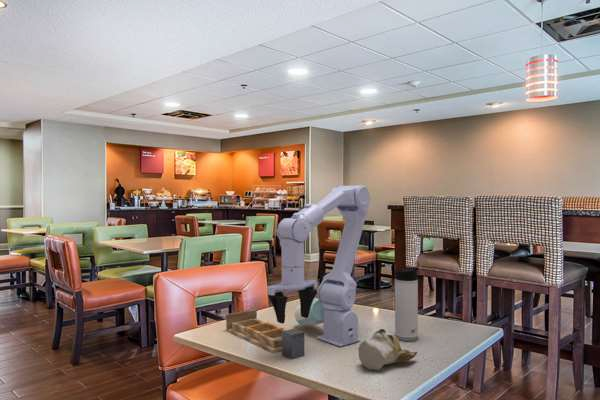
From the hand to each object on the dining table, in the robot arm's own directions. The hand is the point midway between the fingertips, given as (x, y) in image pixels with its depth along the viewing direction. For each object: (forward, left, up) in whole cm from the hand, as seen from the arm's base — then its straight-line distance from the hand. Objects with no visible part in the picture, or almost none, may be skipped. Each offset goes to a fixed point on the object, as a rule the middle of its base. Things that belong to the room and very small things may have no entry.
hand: (293, 319), depth 109 cm
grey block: (0, 0, -9) cm, 9 cm away
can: (+18, -19, -6) cm, 26 cm away
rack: (+16, -2, -9) cm, 18 cm away
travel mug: (-10, -33, -9) cm, 36 cm away
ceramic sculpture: (-18, -13, -9) cm, 24 cm away
